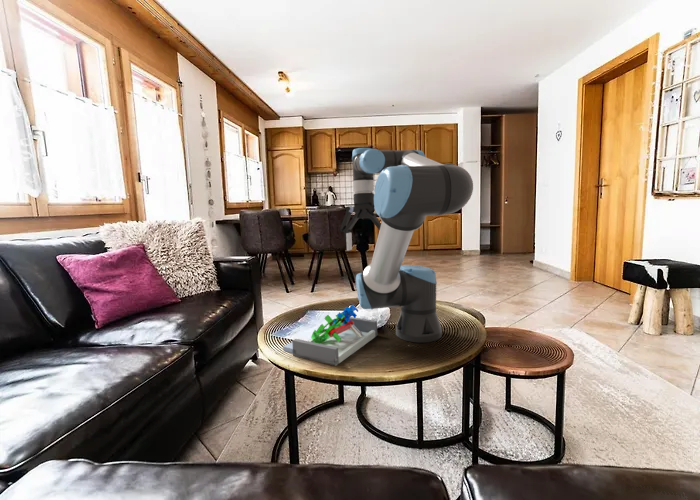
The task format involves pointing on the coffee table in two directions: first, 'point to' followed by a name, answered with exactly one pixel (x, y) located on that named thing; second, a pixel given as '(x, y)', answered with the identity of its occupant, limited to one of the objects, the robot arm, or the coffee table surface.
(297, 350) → the tray
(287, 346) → the wing blank
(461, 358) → the coffee table surface
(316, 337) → the toy
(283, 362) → the coffee table surface
